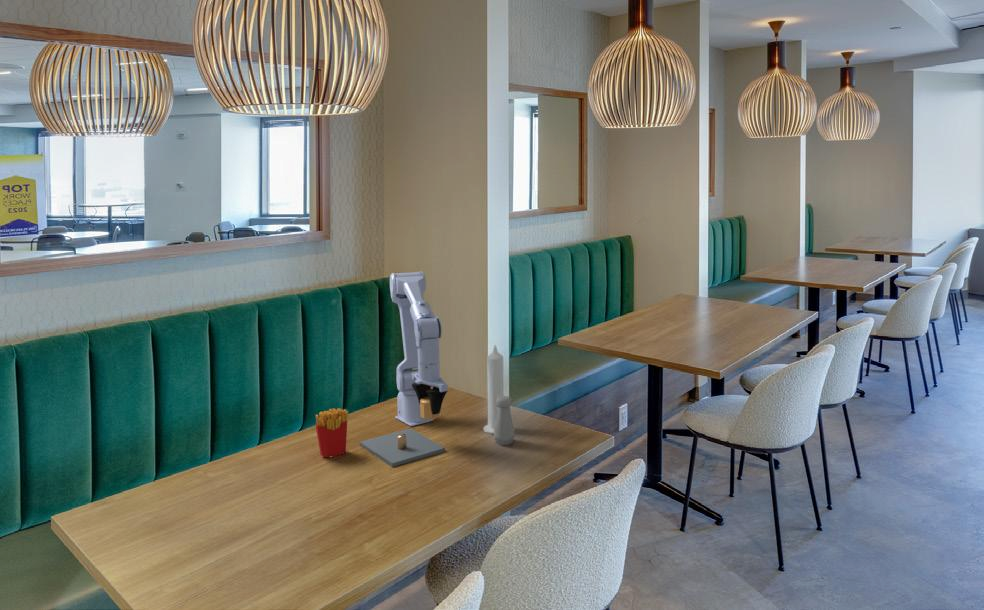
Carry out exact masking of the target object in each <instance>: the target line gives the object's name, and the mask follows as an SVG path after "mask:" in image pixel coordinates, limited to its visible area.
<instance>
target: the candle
mask: <svg viewBox="0 0 984 610" xmlns="http://www.w3.org/2000/svg"><path fill="white" fill-rule="evenodd" d="M492 349H493V350H492V352H491V353H490V354H489V355H487V356H486V359H487V360H486V361H487V362H486V363H487V369H486V370H487V372H486V373H487V377H486V378H487V424H486V425H484V426H483V431H484V432H485V433H487V434H490V435H494V430H495V424H496V418H497V412H498V406H497V405H496V399H497V398H498V397H500V396H505V395H504V384H505V383H504V356H503V355H502V354H500V352H498V348H497V345H495V344H494V345H493V348H492Z"/></svg>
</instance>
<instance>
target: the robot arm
mask: <svg viewBox="0 0 984 610" xmlns="http://www.w3.org/2000/svg"><path fill="white" fill-rule="evenodd" d="M426 288H427V280H426V274H425V273H424V272H423V271H415V272H414V271H413V272H400V273H399V272H398V273H395V272H392V273H391V274H390V276H389V290H390V298H391V302H392V303H394V304H397V306H398V309H399V316H400V326H401V327H400V328H401V336H402V345H403V355H404V359H403V360H402V361H401V362H400V363H399V364H397V367H396V375H395V377H396V387H397V388H396V389H397V390H398V394H397V399H396V400H397V401H396V403H397V415H395V416H394V417H395V418H396V419H397V420H398V421H400V422H403V424H406V425H408V426H410V427H414V426H417V425H422V424H425V423H426V424H427V423H430V422H432V421H434V420H435V419H424V418H422V417H420V400H421V399H422V398H425V397H429V399H430V404H431V411H432V414H433V415H434V414H438V413H440V410H441V409H442V405H443V401H444V399H445V396H446V395H447V392H448V391H449V389H448V387H449V386H448V383H447V382H445V381H444V380H443V378H442V377H441V373H440V370H441V369H440V339H441V337H442V334H443V333H442V322H441V320H440V317H439V316H438V315H434V311H433V309H432V307H431V304H430V303H429V302H428V301H426V300H425V299H424V295H425V292H426V290H427V289H426Z"/></svg>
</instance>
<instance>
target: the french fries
mask: <svg viewBox="0 0 984 610" xmlns="http://www.w3.org/2000/svg"><path fill="white" fill-rule="evenodd" d="M318 414H319V415H318ZM318 414H315V420H316V423H315V424H314V425H315V430H316V437H317V441H318V448H319V453H320V456H321V455H322V456H323V457H330V456H335V457H337V456H336V455H340V456H342V455H341V454H343V453H345V452H347V451H346V450H347V436H348V435H347V434H348V416H349V411H348V410H347V409H346V408H345V409H343V408H339V407H338V408H337V409H336V407H335V408H329V409H328V410H324V411H320V412H319V413H318ZM345 454H346V453H345ZM343 455H344V454H343ZM322 456H321V457H322ZM330 458H331V457H330Z"/></svg>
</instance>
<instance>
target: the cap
mask: <svg viewBox="0 0 984 610" xmlns="http://www.w3.org/2000/svg"><path fill="white" fill-rule="evenodd" d="M441 414H442V413H441V410H440V413H438V414H434V415H433V414H432V411H431V404H430V399H429V397H425V398H422V399H421V400H420V417H422V418H424V419H434V420H435V419H438V418H440V417H441Z"/></svg>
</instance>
